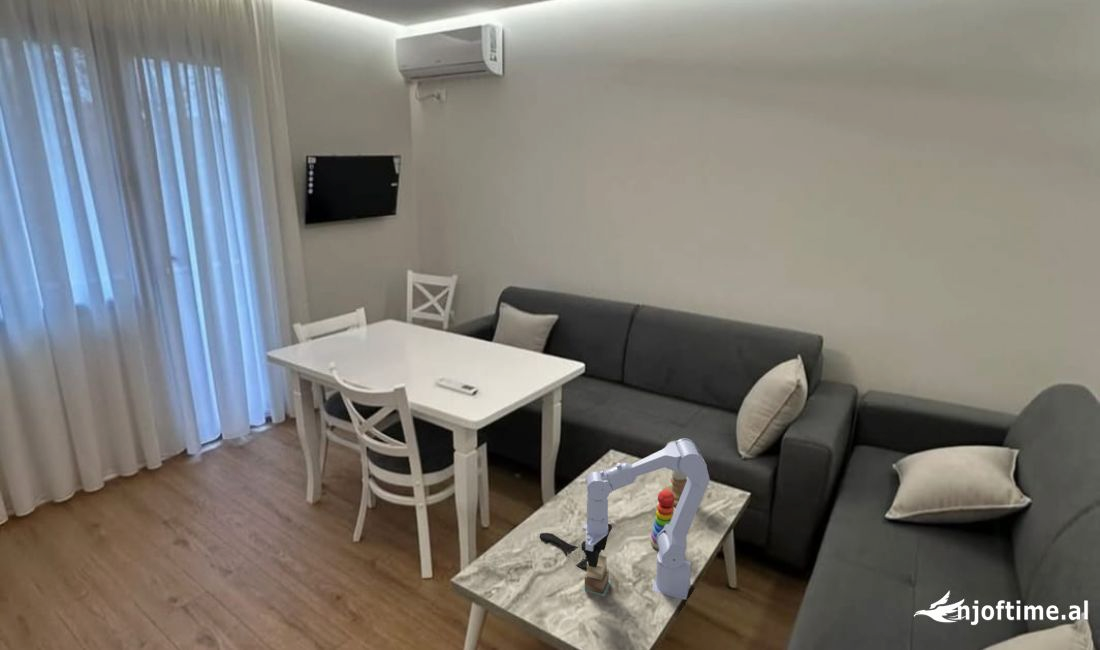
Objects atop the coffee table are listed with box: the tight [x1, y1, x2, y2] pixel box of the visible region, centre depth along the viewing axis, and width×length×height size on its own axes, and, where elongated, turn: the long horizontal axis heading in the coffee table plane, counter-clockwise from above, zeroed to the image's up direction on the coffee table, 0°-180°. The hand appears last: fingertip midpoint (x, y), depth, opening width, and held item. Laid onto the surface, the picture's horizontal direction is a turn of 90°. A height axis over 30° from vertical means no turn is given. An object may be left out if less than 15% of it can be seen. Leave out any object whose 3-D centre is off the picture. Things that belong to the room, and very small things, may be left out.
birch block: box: [586, 554, 608, 580], centre depth 158 cm, size 4×4×4 cm
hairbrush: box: [538, 532, 602, 570], centre depth 174 cm, size 8×4×25 cm
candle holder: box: [662, 439, 688, 507], centre depth 200 cm, size 12×12×20 cm
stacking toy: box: [650, 489, 675, 551], centre depth 175 cm, size 8×8×19 cm
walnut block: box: [584, 568, 610, 594], centre depth 159 cm, size 5×5×4 cm
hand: (596, 557), depth 157 cm, fingers open, 7 cm apart
